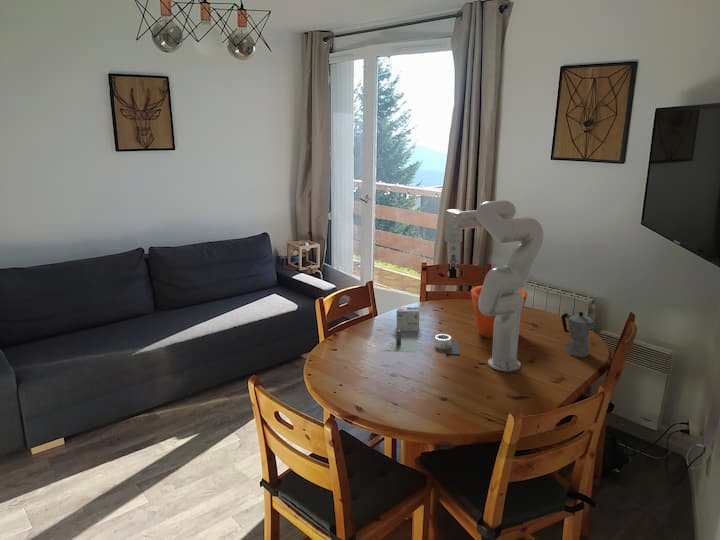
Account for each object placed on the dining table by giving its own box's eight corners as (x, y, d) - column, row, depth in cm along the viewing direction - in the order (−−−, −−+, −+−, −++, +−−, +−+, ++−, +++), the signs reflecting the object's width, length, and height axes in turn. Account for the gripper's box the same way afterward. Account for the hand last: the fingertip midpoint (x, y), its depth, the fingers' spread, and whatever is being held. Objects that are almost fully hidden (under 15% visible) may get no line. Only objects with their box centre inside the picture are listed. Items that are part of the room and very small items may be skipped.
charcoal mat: (459, 355, 215) (459, 354, 215) (426, 353, 217) (426, 352, 217) (458, 342, 229) (458, 341, 229) (426, 341, 231) (426, 340, 231)
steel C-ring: (451, 350, 219) (451, 340, 218) (434, 349, 220) (434, 339, 219) (450, 344, 226) (450, 334, 225) (434, 343, 227) (434, 333, 226)
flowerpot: (531, 343, 226) (534, 300, 221) (474, 343, 227) (476, 301, 222) (516, 323, 250) (518, 284, 246) (464, 324, 251) (466, 285, 246)
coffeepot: (598, 355, 212) (603, 314, 208) (585, 361, 207) (589, 318, 203) (566, 343, 225) (569, 304, 220) (552, 348, 220) (555, 308, 215)
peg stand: (416, 354, 217) (416, 338, 215) (378, 352, 219) (378, 337, 217) (417, 340, 232) (417, 325, 230) (382, 338, 234) (382, 324, 233)
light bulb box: (419, 327, 247) (419, 306, 244) (419, 333, 241) (419, 311, 238) (396, 327, 248) (396, 306, 246) (396, 332, 242) (396, 310, 239)
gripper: (463, 241, 219) (461, 280, 223) (461, 234, 235) (460, 270, 239) (445, 241, 220) (444, 279, 224) (444, 233, 236) (443, 270, 241)
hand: (452, 274), depth 232 cm, fingers open, 9 cm apart
